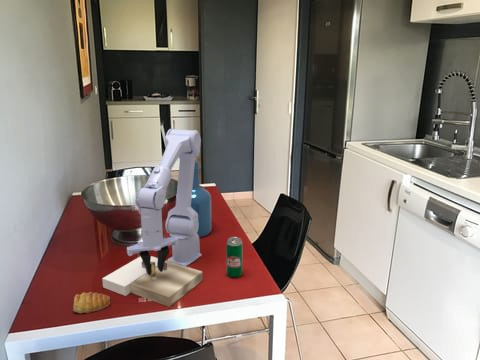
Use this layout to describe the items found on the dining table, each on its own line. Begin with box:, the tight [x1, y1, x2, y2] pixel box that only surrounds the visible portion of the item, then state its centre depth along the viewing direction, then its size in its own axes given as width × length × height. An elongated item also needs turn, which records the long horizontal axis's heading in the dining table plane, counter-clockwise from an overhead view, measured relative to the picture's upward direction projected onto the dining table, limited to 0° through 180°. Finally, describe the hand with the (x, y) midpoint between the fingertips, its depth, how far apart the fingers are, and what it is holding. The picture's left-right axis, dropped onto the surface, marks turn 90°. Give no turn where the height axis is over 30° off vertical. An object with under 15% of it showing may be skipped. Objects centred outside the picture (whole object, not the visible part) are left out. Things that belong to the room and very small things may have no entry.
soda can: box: [225, 236, 244, 279], centre depth 123 cm, size 5×5×12 cm
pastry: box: [72, 291, 111, 314], centre depth 108 cm, size 9×7×4 cm
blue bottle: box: [177, 157, 213, 238], centre depth 153 cm, size 14×13×30 cm
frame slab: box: [101, 255, 167, 297], centre depth 122 cm, size 18×9×3 cm, turn 151°
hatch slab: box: [130, 260, 204, 308], centre depth 118 cm, size 16×14×3 cm
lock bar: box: [142, 261, 156, 281], centre depth 119 cm, size 11×2×5 cm, turn 26°
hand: (154, 271), depth 116 cm, fingers open, 3 cm apart
